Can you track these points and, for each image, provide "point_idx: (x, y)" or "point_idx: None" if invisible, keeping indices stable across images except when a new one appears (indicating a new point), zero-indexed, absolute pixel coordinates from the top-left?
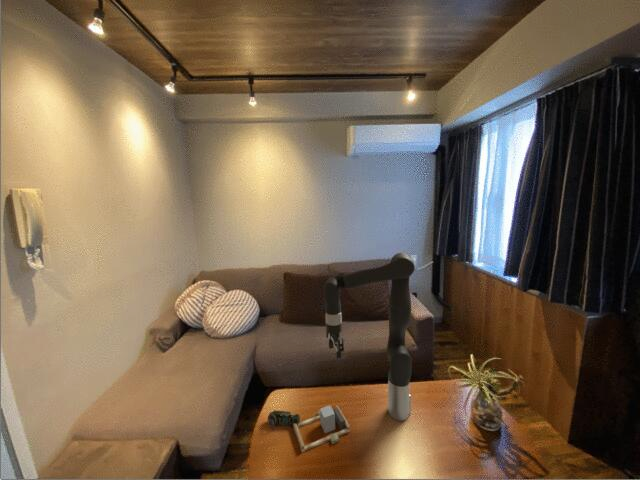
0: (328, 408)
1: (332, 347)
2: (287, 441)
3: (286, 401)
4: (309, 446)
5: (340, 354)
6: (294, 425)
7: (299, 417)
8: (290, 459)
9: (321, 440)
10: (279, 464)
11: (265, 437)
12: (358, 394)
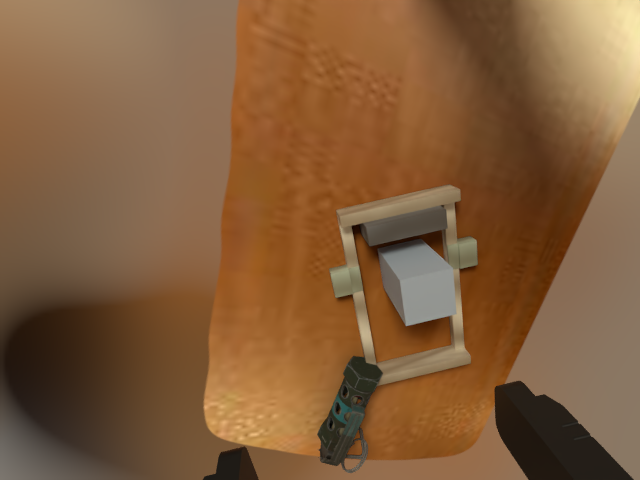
0: (416, 290)
1: (247, 462)
2: (412, 387)
3: (246, 396)
4: (461, 334)
5: (597, 453)
6: (386, 382)
7: (352, 364)
8: (469, 379)
9: (456, 297)
10: (471, 403)
11: (379, 442)
12: (264, 78)
